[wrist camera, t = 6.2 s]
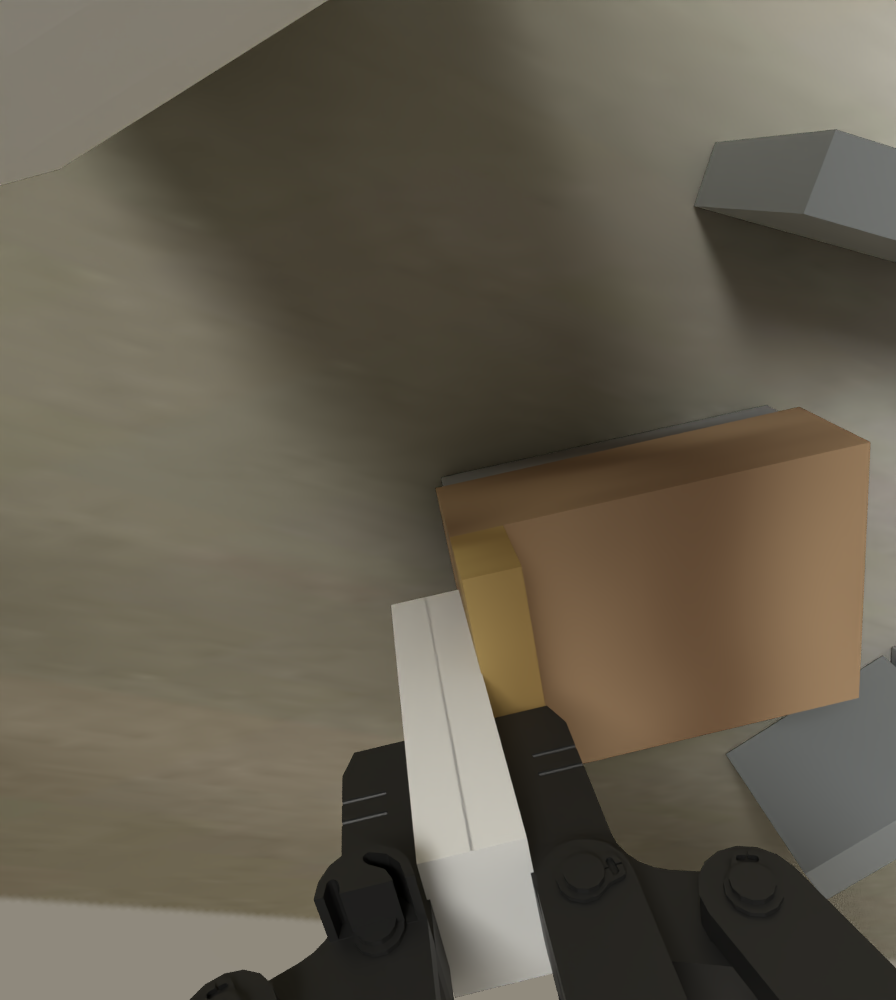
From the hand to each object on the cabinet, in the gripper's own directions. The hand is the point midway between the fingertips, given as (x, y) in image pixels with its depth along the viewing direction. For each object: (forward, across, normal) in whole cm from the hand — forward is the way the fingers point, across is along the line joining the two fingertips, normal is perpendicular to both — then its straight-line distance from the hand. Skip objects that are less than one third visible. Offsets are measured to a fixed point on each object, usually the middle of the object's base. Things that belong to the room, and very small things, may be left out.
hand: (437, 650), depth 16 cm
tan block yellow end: (+2, +5, 0) cm, 5 cm away
